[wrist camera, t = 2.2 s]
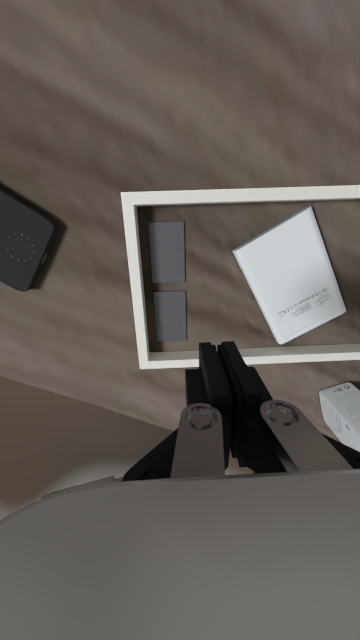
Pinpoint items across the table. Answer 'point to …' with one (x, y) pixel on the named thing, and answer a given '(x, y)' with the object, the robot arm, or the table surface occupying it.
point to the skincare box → (342, 412)
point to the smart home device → (23, 241)
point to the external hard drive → (291, 276)
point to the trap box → (172, 269)
